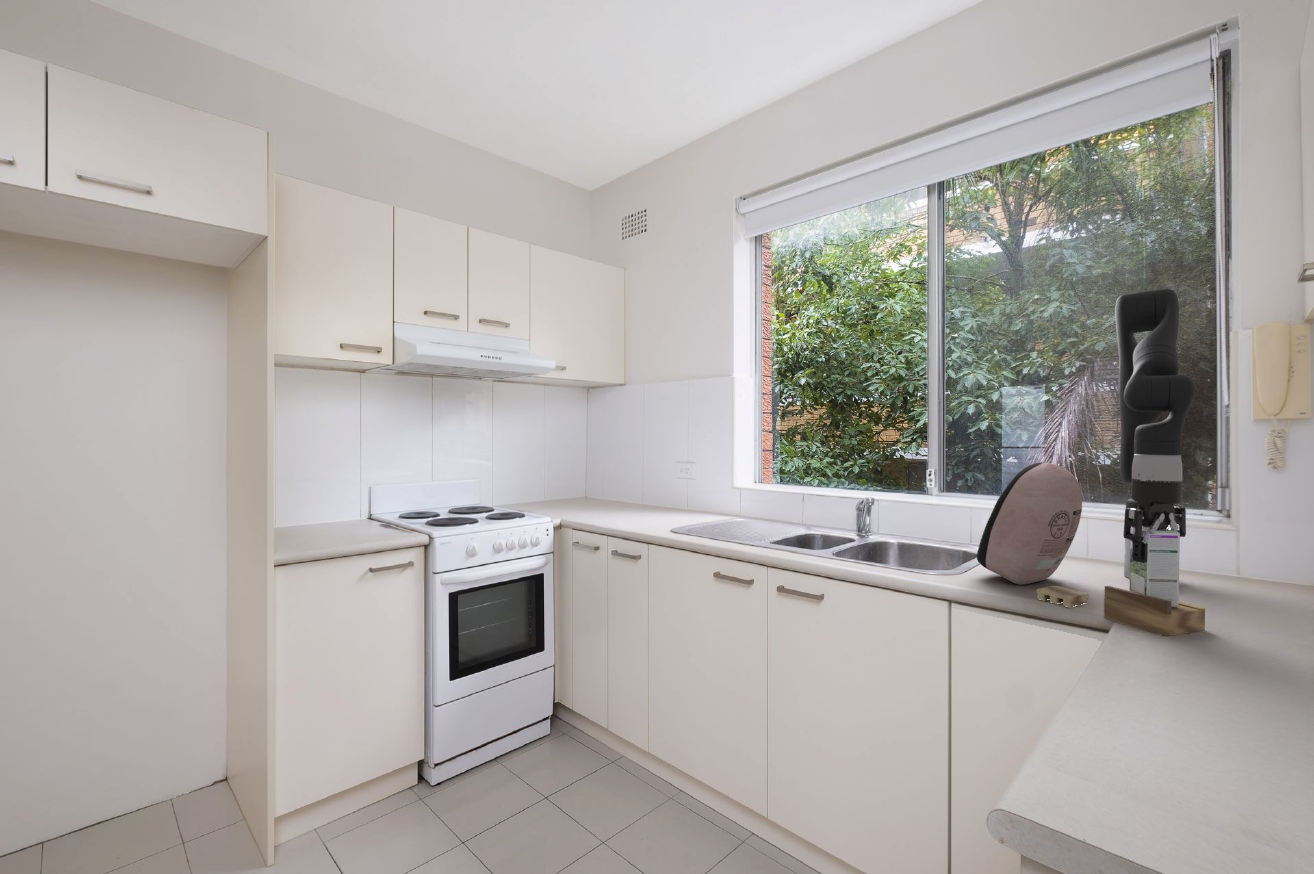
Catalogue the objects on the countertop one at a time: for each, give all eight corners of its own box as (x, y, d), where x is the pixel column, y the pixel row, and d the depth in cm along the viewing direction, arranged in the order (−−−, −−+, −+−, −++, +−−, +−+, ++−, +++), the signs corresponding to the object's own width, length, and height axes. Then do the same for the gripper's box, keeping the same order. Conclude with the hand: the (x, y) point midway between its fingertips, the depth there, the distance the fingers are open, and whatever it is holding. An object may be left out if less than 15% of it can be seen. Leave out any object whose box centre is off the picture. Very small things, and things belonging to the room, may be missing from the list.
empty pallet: (1053, 595, 134) (1053, 585, 134) (1088, 603, 128) (1088, 593, 128) (1036, 599, 130) (1036, 589, 130) (1071, 608, 124) (1071, 597, 124)
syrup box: (1180, 607, 112) (1182, 532, 111) (1145, 605, 113) (1147, 530, 112) (1160, 598, 117) (1162, 526, 117) (1127, 596, 118) (1129, 525, 118)
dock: (1140, 612, 122) (1141, 582, 122) (1204, 630, 111) (1205, 596, 111) (1103, 617, 118) (1104, 586, 118) (1166, 636, 108) (1167, 601, 108)
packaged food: (1013, 568, 160) (1015, 458, 159) (1095, 585, 143) (1098, 463, 142) (964, 578, 149) (967, 460, 148) (1048, 598, 132) (1051, 465, 131)
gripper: (1159, 475, 120) (1156, 554, 121) (1110, 476, 116) (1108, 558, 116) (1203, 478, 113) (1200, 562, 113) (1153, 480, 109) (1151, 567, 109)
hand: (1154, 560), depth 115 cm, fingers open, 8 cm apart
